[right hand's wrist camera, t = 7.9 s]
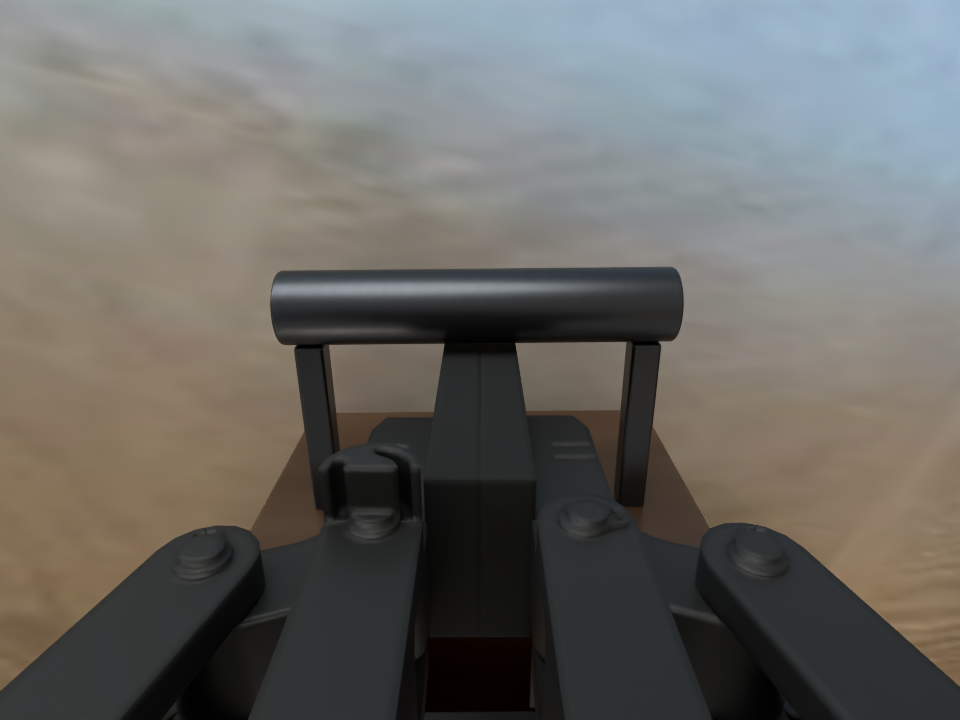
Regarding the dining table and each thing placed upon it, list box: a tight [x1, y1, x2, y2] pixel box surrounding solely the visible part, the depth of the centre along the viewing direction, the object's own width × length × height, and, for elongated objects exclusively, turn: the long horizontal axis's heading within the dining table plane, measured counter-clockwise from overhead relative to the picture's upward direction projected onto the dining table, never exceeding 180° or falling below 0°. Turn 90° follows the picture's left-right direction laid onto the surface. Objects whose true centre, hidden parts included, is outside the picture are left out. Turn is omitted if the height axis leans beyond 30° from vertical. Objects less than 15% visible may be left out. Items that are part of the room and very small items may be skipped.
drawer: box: [251, 267, 710, 712], centre depth 18 cm, size 24×10×7 cm, turn 1°
